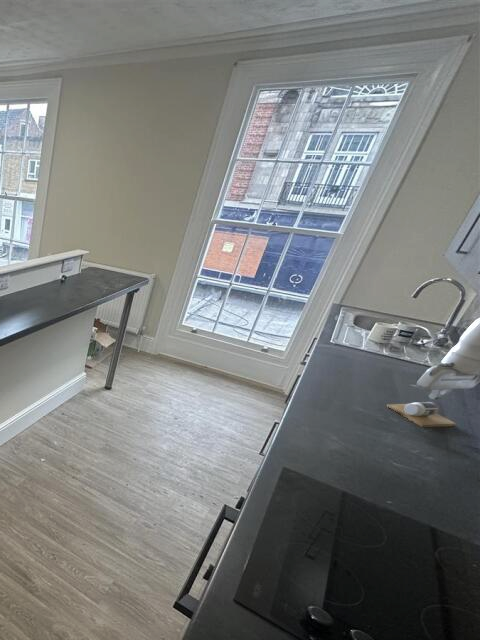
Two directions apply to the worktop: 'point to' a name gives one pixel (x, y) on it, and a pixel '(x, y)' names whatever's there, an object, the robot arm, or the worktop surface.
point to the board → (422, 417)
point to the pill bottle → (421, 408)
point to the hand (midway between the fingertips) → (434, 398)
